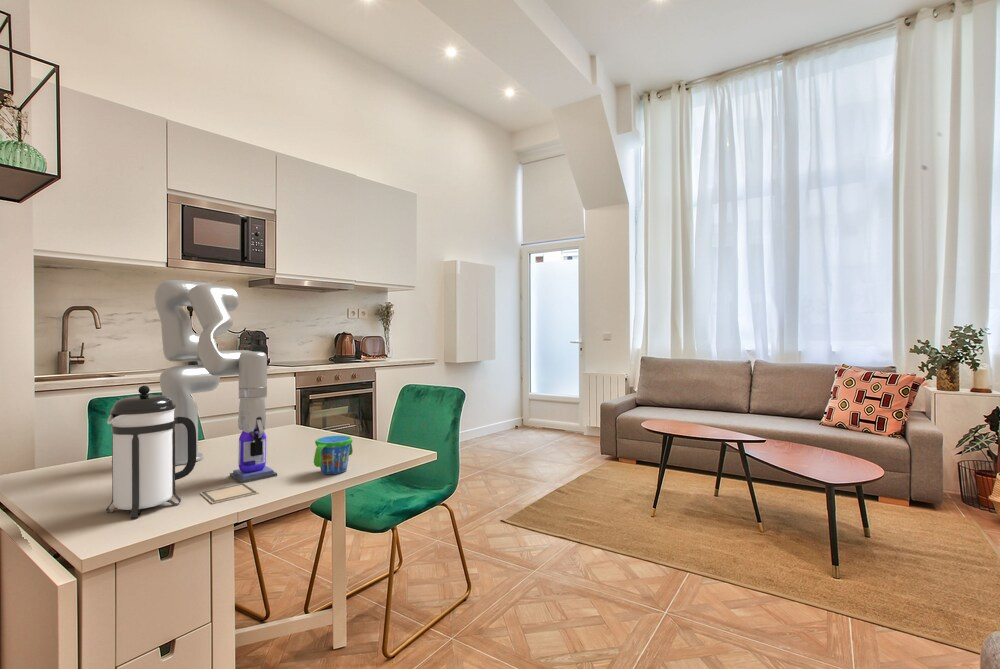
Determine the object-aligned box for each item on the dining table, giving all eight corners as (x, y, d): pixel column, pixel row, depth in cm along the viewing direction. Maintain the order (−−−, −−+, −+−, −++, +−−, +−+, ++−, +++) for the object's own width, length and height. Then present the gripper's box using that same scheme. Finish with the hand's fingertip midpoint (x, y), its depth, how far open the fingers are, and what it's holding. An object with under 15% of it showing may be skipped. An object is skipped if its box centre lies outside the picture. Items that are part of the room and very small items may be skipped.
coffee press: (173, 515, 112) (173, 387, 112) (91, 523, 108) (91, 390, 107) (197, 491, 129) (196, 380, 129) (127, 497, 124) (126, 382, 124)
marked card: (199, 493, 127) (199, 492, 127) (244, 484, 135) (244, 482, 135) (212, 504, 120) (212, 502, 120) (258, 493, 128) (258, 491, 128)
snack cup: (339, 463, 157) (339, 432, 157) (364, 467, 152) (364, 435, 152) (301, 476, 143) (301, 442, 143) (328, 481, 138) (328, 445, 138)
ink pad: (229, 475, 143) (229, 470, 143) (264, 469, 150) (264, 463, 150) (240, 483, 136) (240, 477, 136) (277, 475, 143) (277, 470, 143)
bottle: (262, 465, 148) (262, 409, 148) (268, 469, 144) (268, 411, 143) (236, 470, 143) (236, 411, 142) (242, 474, 139) (242, 414, 138)
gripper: (229, 391, 146) (229, 450, 146) (249, 397, 134) (249, 461, 134) (256, 389, 152) (255, 446, 152) (277, 394, 140) (276, 456, 140)
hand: (252, 452), depth 143 cm, fingers closed on bottle, 5 cm apart
